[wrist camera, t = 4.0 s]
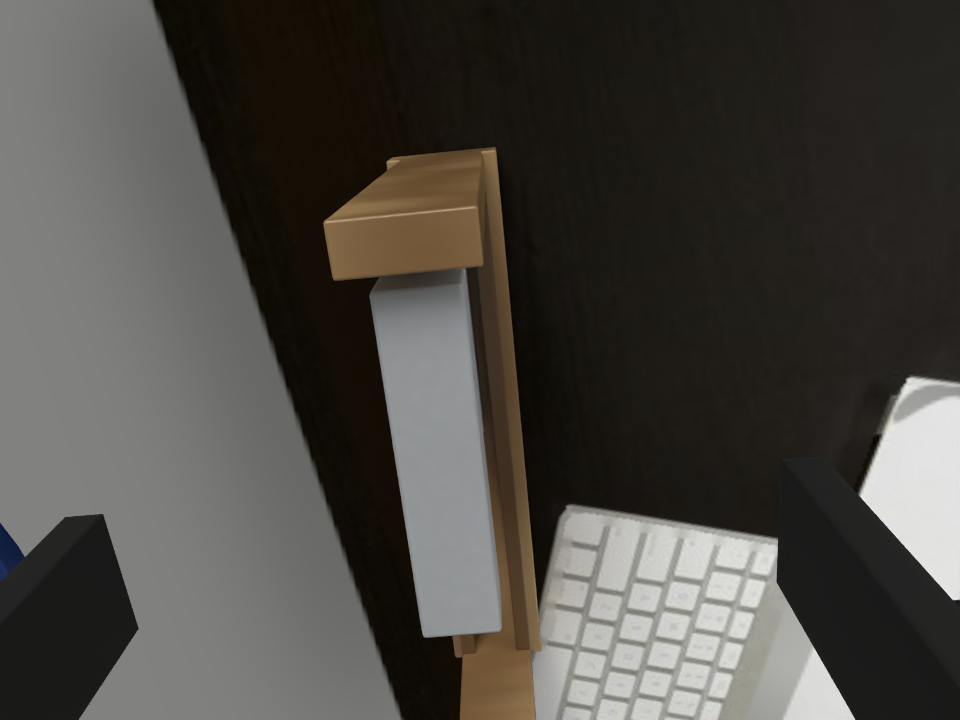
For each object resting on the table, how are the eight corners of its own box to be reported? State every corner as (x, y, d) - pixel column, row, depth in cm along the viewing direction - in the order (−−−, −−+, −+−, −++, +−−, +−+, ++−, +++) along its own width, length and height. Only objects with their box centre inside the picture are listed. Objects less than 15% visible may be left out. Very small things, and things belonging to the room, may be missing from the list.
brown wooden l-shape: (456, 636, 36) (436, 987, 22) (390, 157, 28) (296, 223, 14) (539, 629, 36) (573, 980, 22) (495, 146, 28) (504, 202, 14)
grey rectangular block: (447, 428, 31) (422, 639, 19) (419, 205, 27) (368, 292, 16) (496, 423, 30) (502, 633, 19) (473, 200, 27) (462, 283, 16)
